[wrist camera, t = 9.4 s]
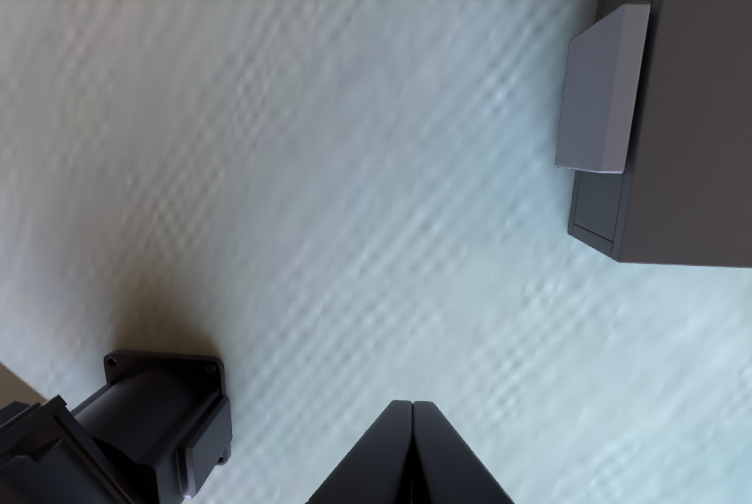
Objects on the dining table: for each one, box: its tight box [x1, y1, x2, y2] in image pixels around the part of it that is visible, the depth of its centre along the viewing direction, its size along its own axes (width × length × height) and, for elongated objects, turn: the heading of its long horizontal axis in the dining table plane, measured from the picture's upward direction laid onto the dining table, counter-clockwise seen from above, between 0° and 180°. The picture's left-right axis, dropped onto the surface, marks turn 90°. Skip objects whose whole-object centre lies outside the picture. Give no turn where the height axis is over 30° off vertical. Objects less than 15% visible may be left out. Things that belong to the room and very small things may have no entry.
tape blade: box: [555, 3, 650, 174], centre depth 15 cm, size 10×5×5 cm, turn 89°
